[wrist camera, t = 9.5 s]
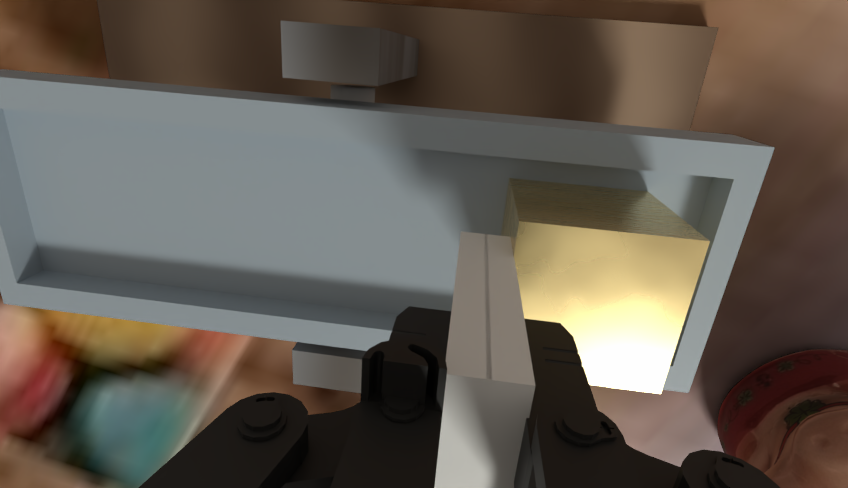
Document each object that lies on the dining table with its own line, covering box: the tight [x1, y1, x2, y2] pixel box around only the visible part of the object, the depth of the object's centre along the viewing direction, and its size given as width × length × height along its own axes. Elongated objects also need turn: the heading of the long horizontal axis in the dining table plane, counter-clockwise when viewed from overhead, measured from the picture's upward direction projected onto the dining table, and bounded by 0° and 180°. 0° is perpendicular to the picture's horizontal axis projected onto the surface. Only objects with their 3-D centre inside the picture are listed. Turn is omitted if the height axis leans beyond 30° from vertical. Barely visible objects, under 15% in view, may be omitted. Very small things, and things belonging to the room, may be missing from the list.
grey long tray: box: [0, 70, 775, 393], centre depth 19 cm, size 26×9×6 cm, turn 86°
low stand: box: [97, 0, 718, 393], centre depth 21 cm, size 29×16×10 cm, turn 86°
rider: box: [501, 178, 710, 394], centre depth 14 cm, size 4×4×4 cm
